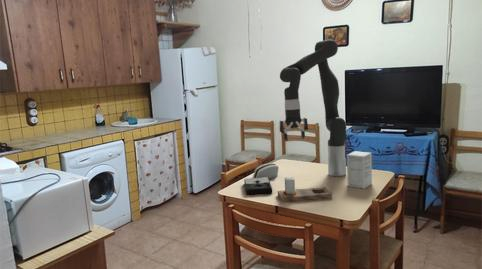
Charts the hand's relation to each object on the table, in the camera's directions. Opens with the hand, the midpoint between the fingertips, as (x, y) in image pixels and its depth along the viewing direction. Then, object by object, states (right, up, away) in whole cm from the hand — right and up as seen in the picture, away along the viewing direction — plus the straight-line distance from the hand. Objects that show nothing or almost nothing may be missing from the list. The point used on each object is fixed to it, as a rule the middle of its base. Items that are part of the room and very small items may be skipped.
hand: (294, 139), depth 187 cm
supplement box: (+34, -24, +2) cm, 42 cm away
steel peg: (-4, -28, -11) cm, 31 cm away
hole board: (+3, -28, -11) cm, 30 cm away
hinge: (-13, -23, +22) cm, 35 cm away
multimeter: (-18, -27, +6) cm, 33 cm away
